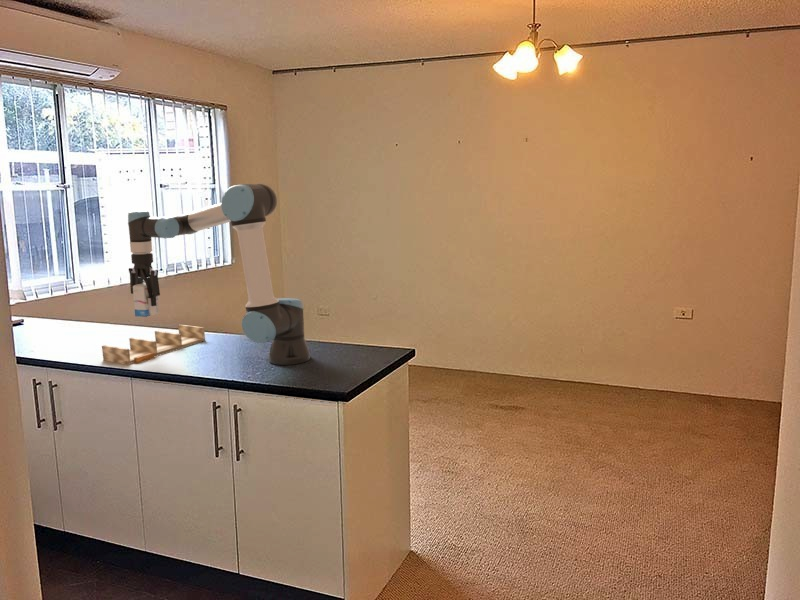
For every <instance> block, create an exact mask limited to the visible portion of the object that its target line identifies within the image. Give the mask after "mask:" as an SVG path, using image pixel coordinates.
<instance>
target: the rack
mask: <svg viewBox="0 0 800 600" xmlns="http://www.w3.org/2000/svg"><path fill="white" fill-rule="evenodd" d="M154 337H155V338H154V339H155V340H150V339H144V338H137V337H136V338H135V337H129V338H128V340H129V347H130V348H126V347H125V348H124V347H119V346H118V347H117V346H112V345H106V344H105V345H104V344H103V345H101V352H102V359H103V361H105V362H109V363H110V362H111V363H117V364H121V365H122V364H123V365H129V366H130V365H133V364H140V363H143V362H146V361H148V360H152V359H155V358H156V357H157V355H158V356H160V354H161V355H164V354H167V353H166V352H168V353H170V351H171V352H173V350H174V351H177V350H180V349H183V348H182V347H184V348H186V346H187V347H190V346H193V345H196V344H198V343H199V342H200V343H203V342H206V334H205V327H204V326H202V327H201V326H194V325H188V324H187V325H186V324H178V333H174V332H167V331H162V330H161V331H160V330H155V331H154ZM202 341H203V342H202ZM200 343H199V344H200ZM192 344H193V345H192ZM189 345H190V346H189ZM179 348H180V349H179ZM176 349H177V350H176ZM163 353H164V354H163Z"/></svg>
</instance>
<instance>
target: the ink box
mask: <svg viewBox="0 0 800 600" xmlns="http://www.w3.org/2000/svg"><path fill="white" fill-rule="evenodd" d="M132 295H133V306H134V316H135V317H137V318H138V317H141V318H147V317H149V316H151V315H149V305H148V297H149V293H148V290H147V286H146V283H145V282H143V283H142V284H137V285H134V286H133V294H132ZM158 297H159V296H157V297H156V314H159V313H160V309H159V298H158Z"/></svg>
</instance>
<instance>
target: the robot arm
mask: <svg viewBox="0 0 800 600" xmlns="http://www.w3.org/2000/svg"><path fill="white" fill-rule="evenodd" d="M277 205H278V198H277V194H276V193H275V190H274V189H272V188H271V186H269V185H267V184H264V183H254V184H253V183H252V184H251V183H246V184H245V183H244V184H237V185H232V186H230V187H228V188H227V189H226V191H225V192H224V194H223V195H222V197H221V201H220V203H217V204H213V205H210V206H206V207H203V208H199V209H197V210H193V211H190V212H186V213H184V214H183V213H182V214H177V215H166V216H151V215H150V212H149V211H148V210H132V211H131V210H130V211H129V212H128V214H127V225H128V232H129V233H128V234H129V246H130V253H131V256H130V257H131V259H130V260H131V264H133V265H134V266H133V267H129V268H128V272H129V281H130V284H129V285H130V294H131V295H133V286H134V285H137V284H142V283H146V286H147V290H148V293H149V297H148V305H149V315H150V316H153V315H156V314H157V313H156V297H157V296H158V297H159V296H161V291H160V284H159V269H154V268H153V265H152V263H154V254H153V253H152V252H153V243H152V242H153V241H152V240H153V239H152V238H158V239H159V238H160V239H172V238H176V237H177V236H183V235H192V234H195V233H198V232H200V231H202V230H206V229H210V228H214V227H217V226H220V225H223V224H226V223H227V224H228V223H230V224H231V228H233V229H234V230H235V231H236V232H237V233H236V234H237V237H238V243H239V251H240V255H241V262H242V269H243V275H244V279H245V285H246V290H247V291H246V292H247V298H248V301H247V303H246V304H245V305H244V306H245V307H244V308H245V312H246V314H245V315H244V316H243V318H242V319H241V329H242V331H243V333H244V335H245V337H246V338H247V339H248V340H250V341H251V342H253V343H255V344H265V343H269V342H271V345H270V349H269V353H268V363H271V364H273V365H278V366H279V365H280V366H292V365H300V364H302V363H306V362H308V361H309V360H311V352H310V349H309V347H308V343H307V341H306V339H305V324H304V323H305V322H304V319H305V318H304V307H303V301H302V300H301V299H299V298H292V297H290V298H289V297H279V298H278V297H275V295H274V290H273V284H272V277H271V271H270V265H269V260H268V253H267V246H266V241H265V234H264V226H265V224H266V223H267V219H266V217H268V216H270V215H271V214H273V212H274V211H275V210H276V209H277Z"/></svg>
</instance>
